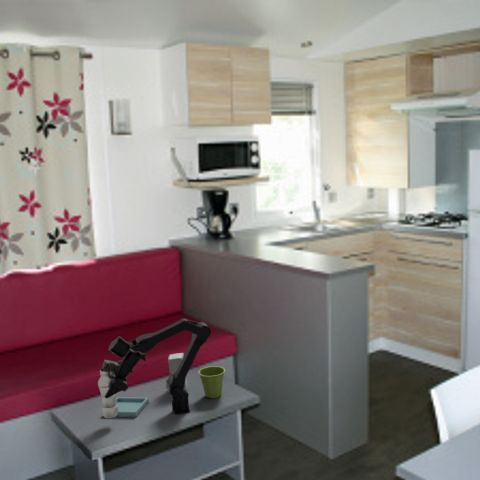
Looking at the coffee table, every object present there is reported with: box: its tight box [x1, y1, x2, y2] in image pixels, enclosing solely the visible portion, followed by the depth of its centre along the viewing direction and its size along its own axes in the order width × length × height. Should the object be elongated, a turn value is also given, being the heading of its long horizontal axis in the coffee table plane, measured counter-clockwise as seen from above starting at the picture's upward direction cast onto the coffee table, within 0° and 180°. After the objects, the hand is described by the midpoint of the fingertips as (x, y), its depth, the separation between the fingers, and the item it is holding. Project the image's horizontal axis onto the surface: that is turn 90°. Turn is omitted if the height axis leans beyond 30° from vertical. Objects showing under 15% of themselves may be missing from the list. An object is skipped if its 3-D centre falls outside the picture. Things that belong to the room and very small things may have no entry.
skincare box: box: [167, 352, 189, 391], centre depth 302 cm, size 8×7×16 cm
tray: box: [114, 396, 150, 418], centre depth 285 cm, size 15×15×2 cm
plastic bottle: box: [97, 368, 119, 419], centre depth 268 cm, size 6×7×20 cm
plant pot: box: [197, 365, 226, 399], centre depth 292 cm, size 12×12×11 cm
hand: (104, 394), depth 268 cm, fingers closed on plastic bottle, 6 cm apart
